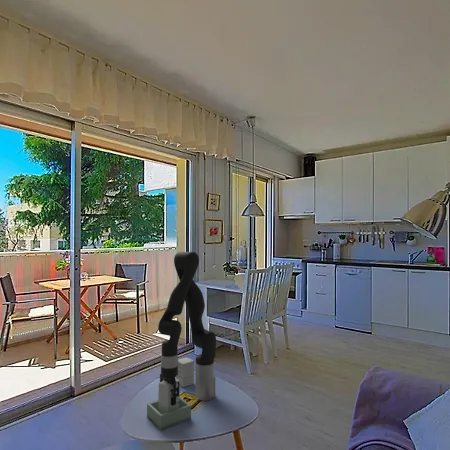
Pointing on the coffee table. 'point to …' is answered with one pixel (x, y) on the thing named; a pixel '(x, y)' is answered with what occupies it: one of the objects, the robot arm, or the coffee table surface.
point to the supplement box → (185, 372)
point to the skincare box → (167, 397)
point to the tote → (168, 414)
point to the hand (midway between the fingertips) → (169, 401)
